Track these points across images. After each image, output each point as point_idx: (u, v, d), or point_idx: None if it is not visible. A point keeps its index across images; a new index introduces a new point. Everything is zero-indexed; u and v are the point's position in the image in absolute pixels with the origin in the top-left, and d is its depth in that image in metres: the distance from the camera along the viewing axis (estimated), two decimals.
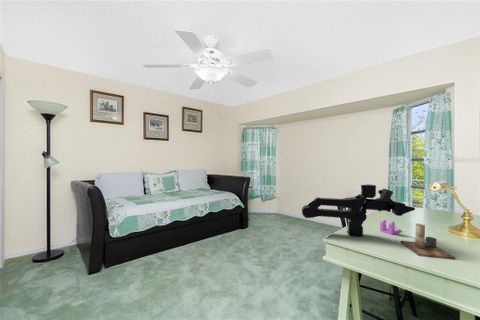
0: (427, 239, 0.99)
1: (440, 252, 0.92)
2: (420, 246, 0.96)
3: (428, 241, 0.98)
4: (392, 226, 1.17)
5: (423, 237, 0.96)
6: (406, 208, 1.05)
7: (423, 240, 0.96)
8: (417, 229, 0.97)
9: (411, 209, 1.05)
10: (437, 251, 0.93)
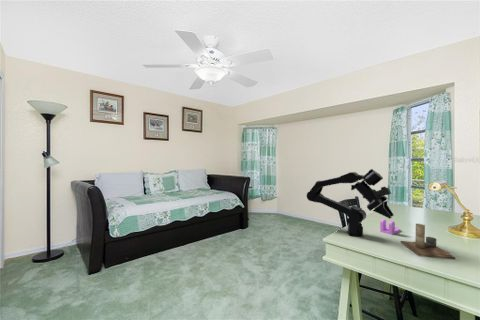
0: (427, 239, 0.99)
1: (440, 252, 0.92)
2: (420, 246, 0.96)
3: (428, 241, 0.98)
4: (392, 226, 1.17)
5: (423, 237, 0.96)
6: (383, 211, 1.03)
7: (423, 240, 0.96)
8: (417, 229, 0.97)
9: (387, 215, 1.03)
10: (437, 251, 0.93)
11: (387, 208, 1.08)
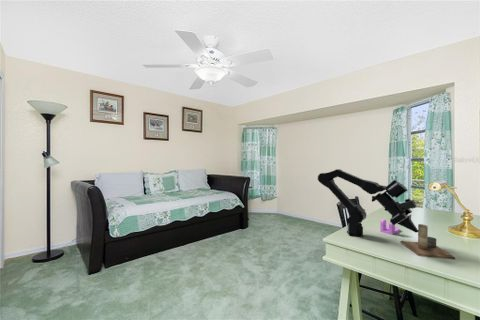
0: (428, 239, 0.99)
1: (440, 252, 0.92)
2: (423, 247, 0.95)
3: (429, 241, 0.98)
4: (392, 226, 1.17)
5: (426, 238, 0.95)
6: (409, 224, 0.98)
7: (426, 241, 0.95)
8: (420, 230, 0.95)
9: (413, 229, 0.97)
10: (437, 251, 0.93)
11: None
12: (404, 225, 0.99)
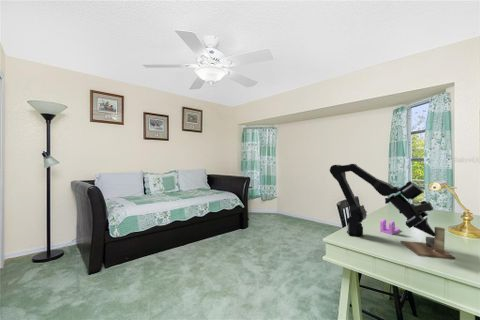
0: (431, 240, 0.98)
1: None
2: (443, 251, 0.91)
3: (433, 242, 0.97)
4: (392, 226, 1.17)
5: None
6: (426, 228, 0.94)
7: None
8: (441, 234, 0.91)
9: (430, 233, 0.93)
10: None
11: None
12: (420, 228, 0.95)
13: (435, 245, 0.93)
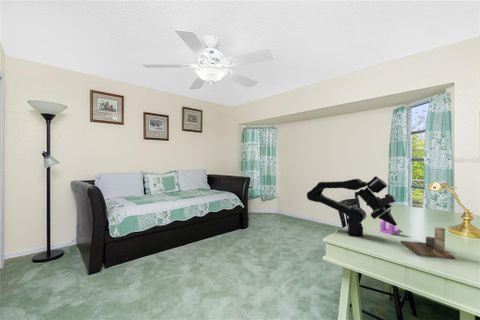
0: (431, 240, 0.98)
1: None
2: (444, 251, 0.91)
3: (433, 242, 0.97)
4: (392, 226, 1.17)
5: None
6: (388, 218, 1.04)
7: None
8: (441, 234, 0.91)
9: (392, 222, 1.03)
10: None
11: None
12: (384, 219, 1.05)
13: (435, 245, 0.92)
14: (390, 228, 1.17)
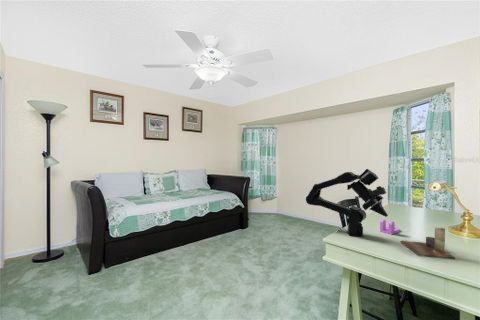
0: (431, 240, 0.98)
1: None
2: (444, 251, 0.91)
3: (433, 242, 0.97)
4: (392, 226, 1.17)
5: None
6: (379, 209, 1.07)
7: None
8: (441, 234, 0.91)
9: (383, 214, 1.06)
10: None
11: None
12: (375, 210, 1.07)
13: (435, 245, 0.92)
14: (390, 228, 1.17)
